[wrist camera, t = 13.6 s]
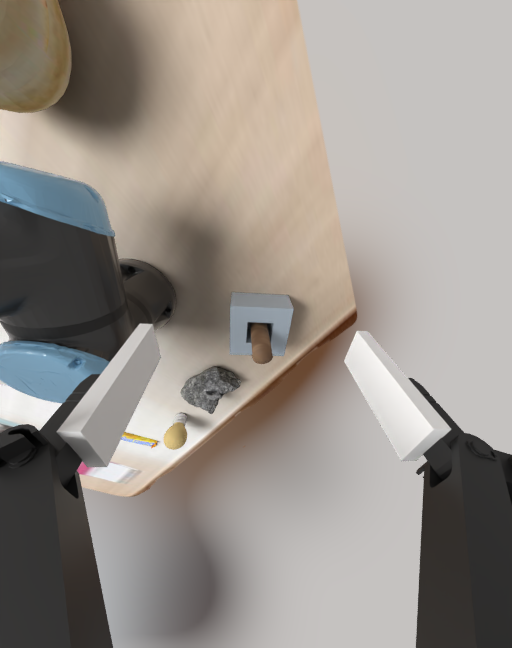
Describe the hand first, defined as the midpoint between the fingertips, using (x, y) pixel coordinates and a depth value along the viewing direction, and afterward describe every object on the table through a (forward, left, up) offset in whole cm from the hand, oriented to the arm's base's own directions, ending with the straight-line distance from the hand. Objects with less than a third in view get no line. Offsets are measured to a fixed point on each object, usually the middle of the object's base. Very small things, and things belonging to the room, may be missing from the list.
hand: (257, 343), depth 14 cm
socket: (-6, -15, -29) cm, 33 cm away
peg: (-6, -15, -28) cm, 32 cm away
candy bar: (-67, -38, -29) cm, 83 cm away
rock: (-27, -27, -29) cm, 48 cm away
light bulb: (-45, -36, -29) cm, 64 cm away
